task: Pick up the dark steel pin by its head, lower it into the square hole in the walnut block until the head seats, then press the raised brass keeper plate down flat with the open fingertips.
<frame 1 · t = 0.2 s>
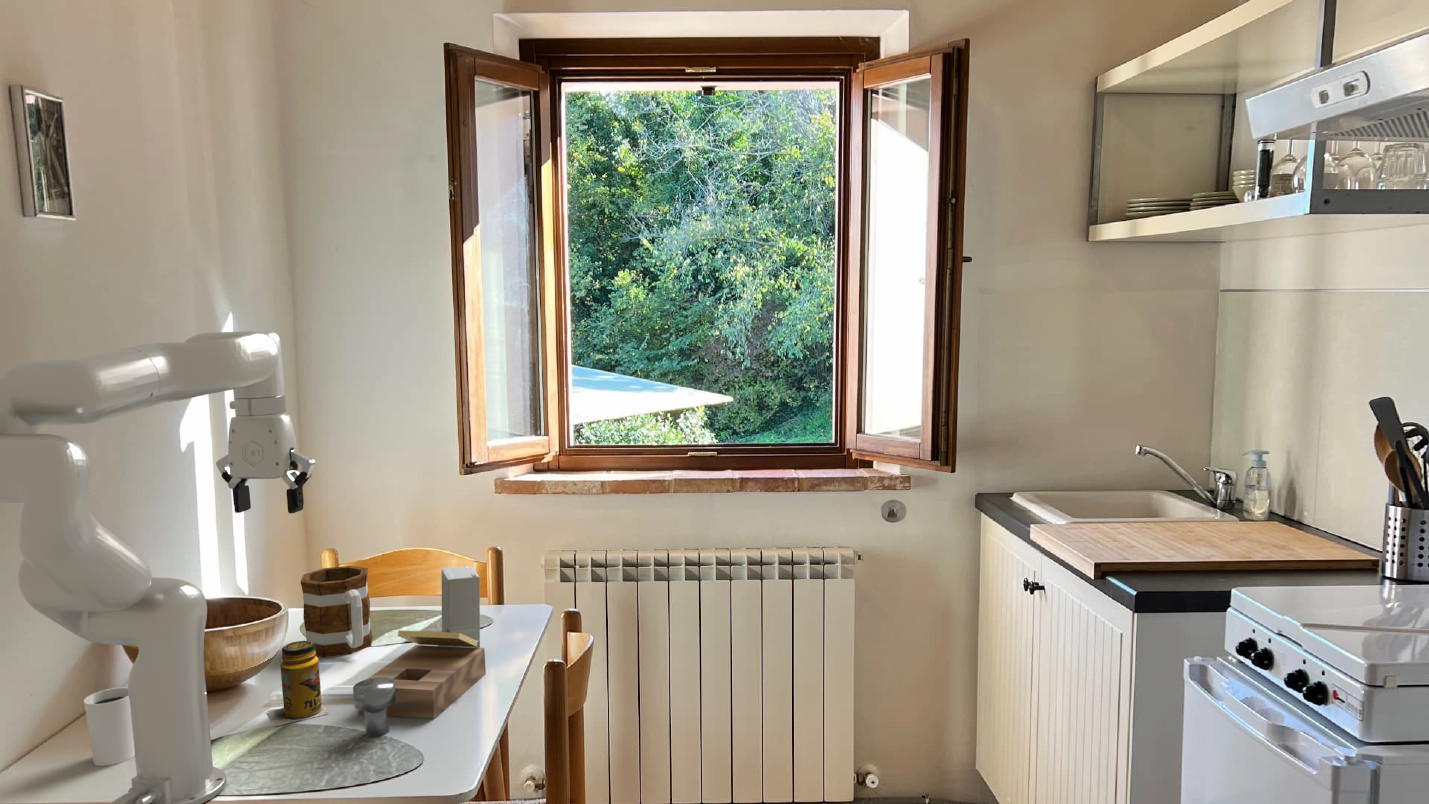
hand: (269, 511, 160), 36 cm above the table, tool pointing down, fingers open, 9 cm apart
steel pin: (377, 732, 159), on the table
mug: (344, 650, 199), on the table
white cup: (115, 758, 153), on the table
skincare box: (462, 648, 198), on the table
condiment: (297, 714, 168), on the table
brass keeper: (439, 638, 180), point 8 cm above the table, hinge at 30.0°
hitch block: (425, 693, 175), on the table
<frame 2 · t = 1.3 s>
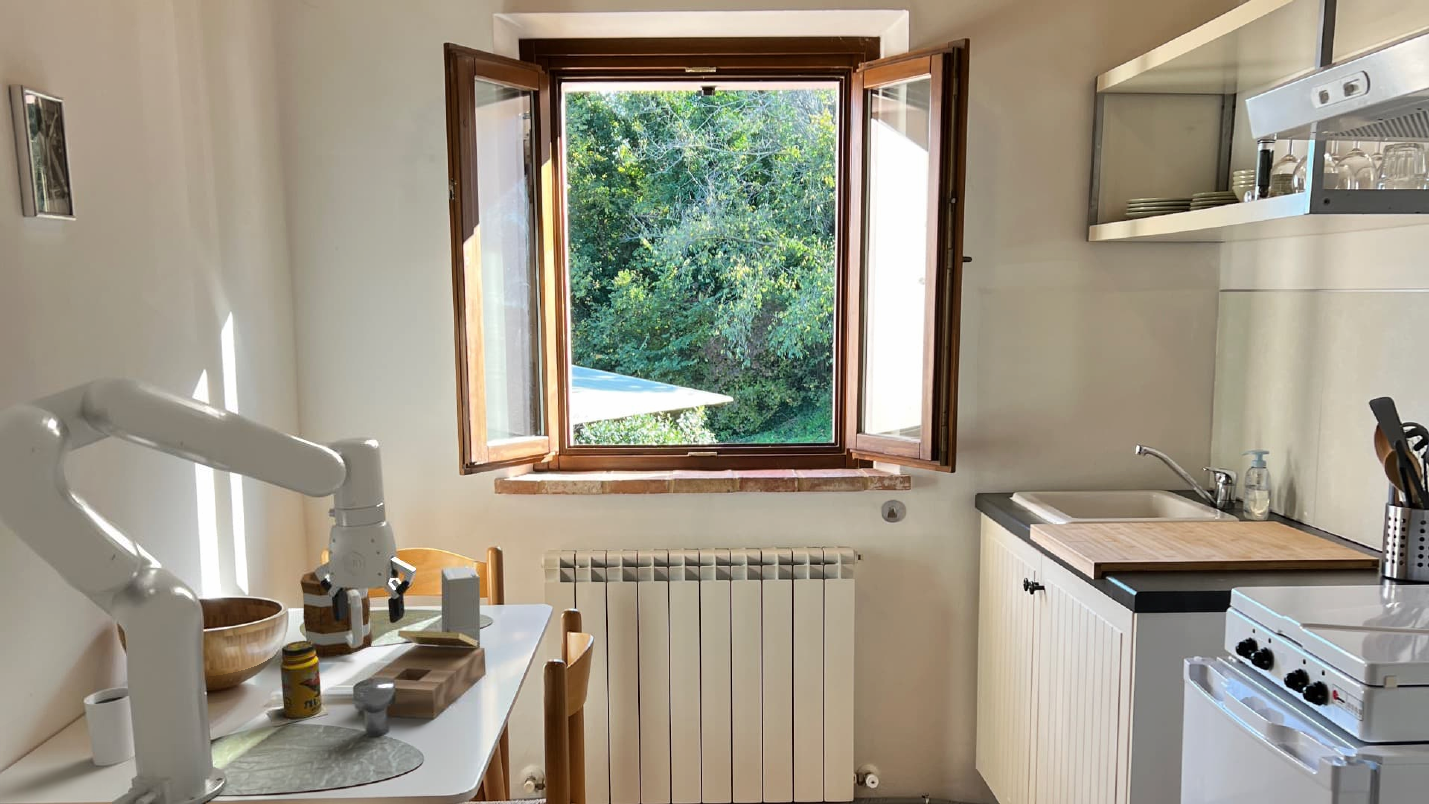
hand: (369, 619, 158), 19 cm above the table, tool pointing down, fingers open, 9 cm apart
nothing on the table moved.
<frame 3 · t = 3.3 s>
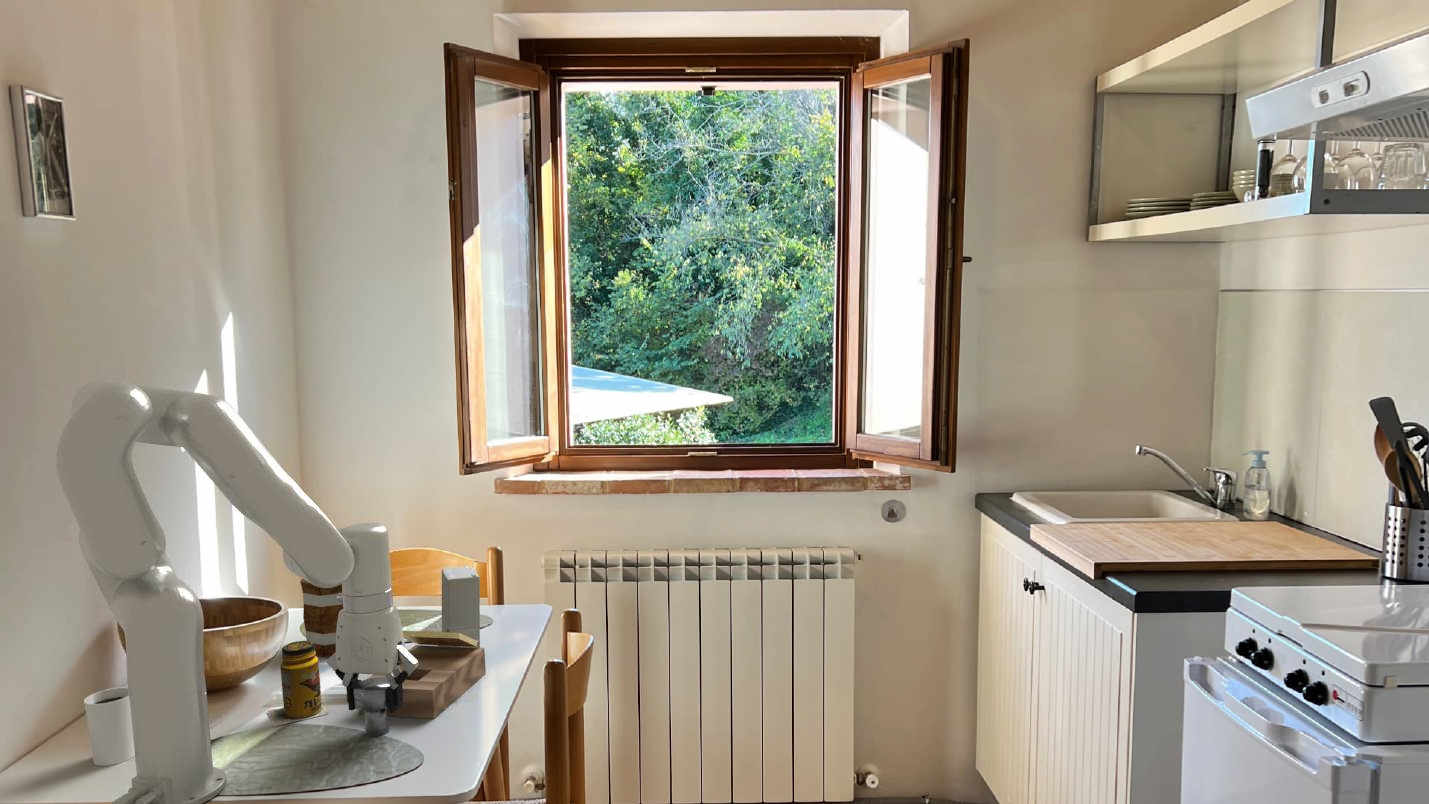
hand: (375, 707, 159), 4 cm above the table, tool pointing down, fingers closed on steel pin, 6 cm apart
steel pin: (377, 732, 159), on the table, touching gripper
everything else where it was.
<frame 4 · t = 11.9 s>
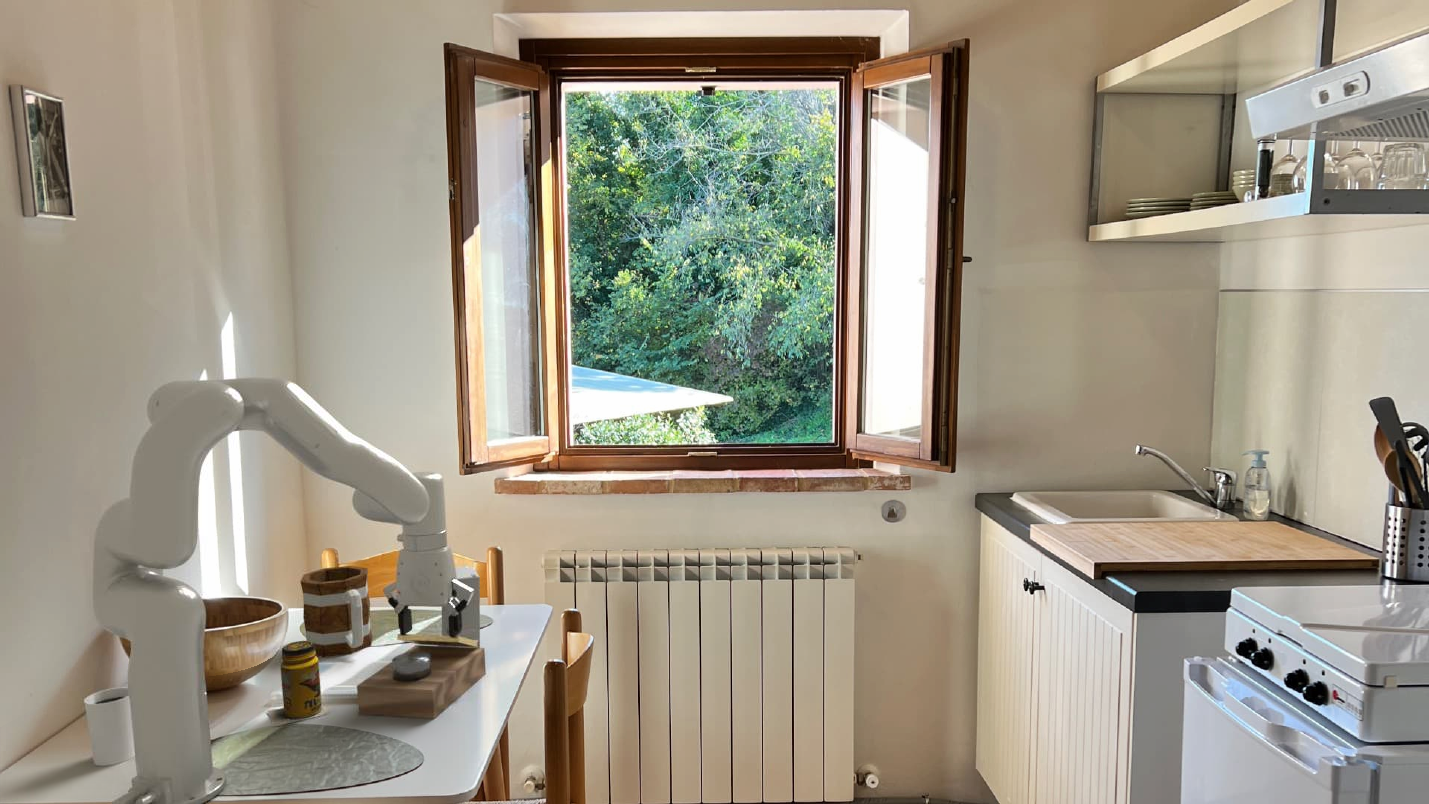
hand: (430, 633, 177), 10 cm above the table, tool pointing down
steel pin: (414, 702, 171), resting in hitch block
brass keeper: (439, 640, 180), point 8 cm above the table, hinge at 25.8°, touching gripper
everything else where it was.
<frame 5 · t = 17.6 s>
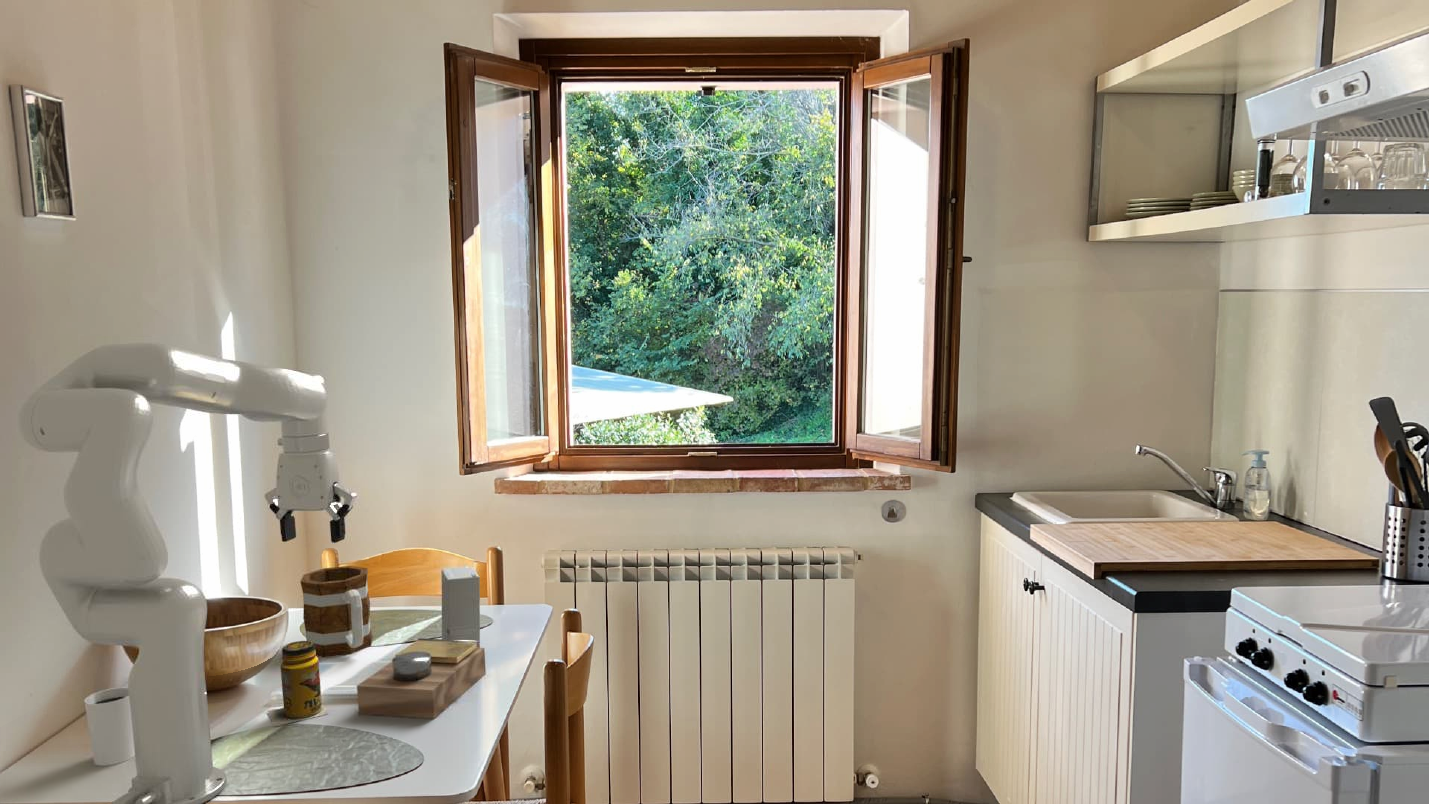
hand: (313, 540, 173), 28 cm above the table, tool pointing down, fingers open, 9 cm apart
brass keeper: (438, 649, 180), point 6 cm above the table, hinge at 1.0°
everything else where it was.
at the end: steel pin 0.1 cm from the target spot on the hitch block, point 0.0 cm above the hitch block's base; steel pin tilted 0°; brass keeper at +1° (first picture: +30°) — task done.
